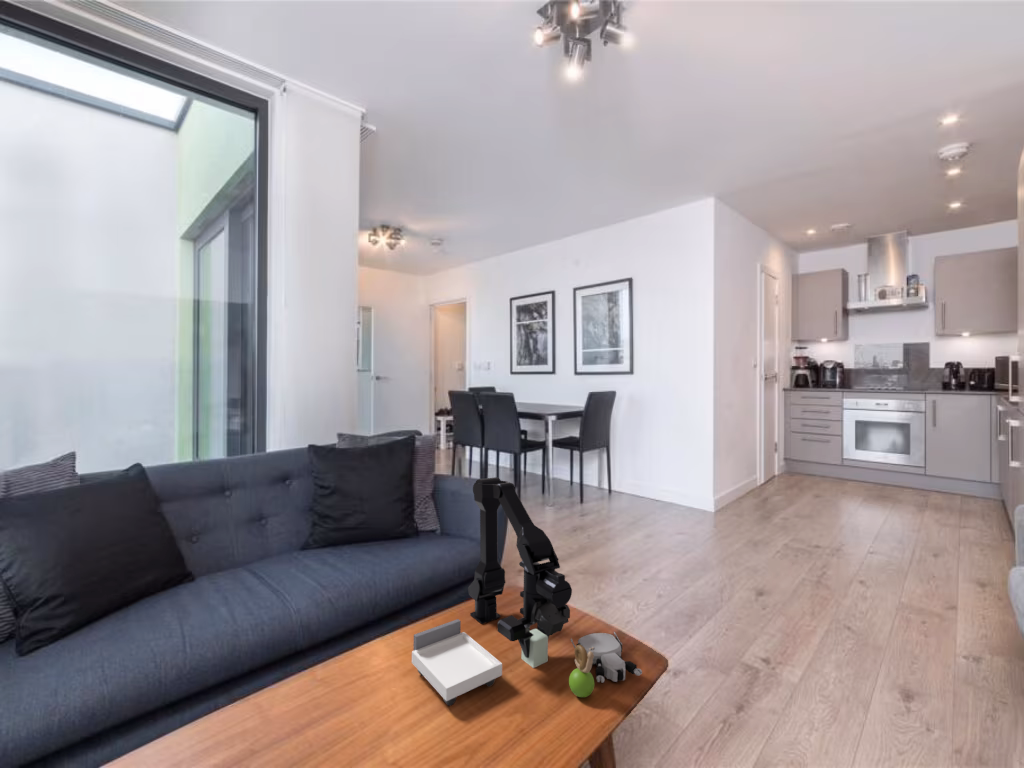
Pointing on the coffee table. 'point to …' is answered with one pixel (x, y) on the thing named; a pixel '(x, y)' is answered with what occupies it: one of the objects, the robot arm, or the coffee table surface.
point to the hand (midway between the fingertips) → (534, 653)
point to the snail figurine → (582, 673)
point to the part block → (537, 649)
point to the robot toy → (608, 656)
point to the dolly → (453, 661)
